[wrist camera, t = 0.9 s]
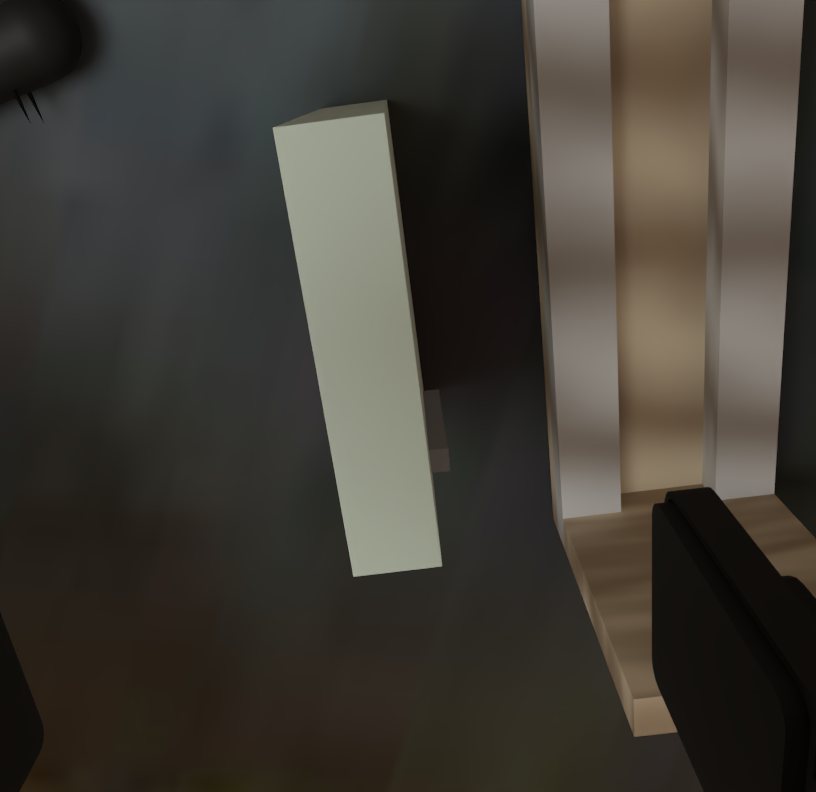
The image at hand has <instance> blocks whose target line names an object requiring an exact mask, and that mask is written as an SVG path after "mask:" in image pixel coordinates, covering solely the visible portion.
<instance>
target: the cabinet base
mask: <svg viewBox="0 0 816 792" xmlns="http://www.w3.org/2000/svg"><path fill="white" fill-rule="evenodd" d="M521 4H522V20H523V36H524V53H525V69H526V85H527V101H528V117H529V133H530V149H531V165H532V181H533V197H534V214H535V230H536V246H537V262H538V278H539V294H540V310H541V326H542V342H543V358H544V375H545V391H546V407H547V423H548V439H549V455H550V471H551V487H552V503H553V519H554V521H555V524H556V527H557V529H558V532H559V535H560V538H561V540H562V543H563V546H564V548H565V551H566V554H567V556H568V559H569V562H570V565H571V567H572V570H573V573H574V575H575V578H576V581H577V583H578V586H579V589H580V592H581V594H582V597H583V600H584V602H585V605H586V608H587V610H588V613H589V616H590V619H591V621H592V624H593V627H594V629H595V632H596V635H597V637H598V640H599V643H600V646H601V648H602V651H603V654H604V656H605V659H606V662H607V664H608V667H609V670H610V673H611V675H612V678H613V681H614V683H615V686H616V689H617V691H618V694H619V697H620V700H621V702H622V705H623V708H624V710H625V713H626V716H627V718H628V721H629V724H630V727H631V729H632V732H633V735H634V737H636V736H646V735H655V734H664V733H673V732H677V729H676V727H675V725H674V723H673V720H672V718H671V716H670V713H669V711H668V709H667V707H666V704H665V702H664V700H663V697H662V695H661V693H660V691H659V688H658V686H657V683H656V680H655V676H654V672H653V666H652V508H653V505H654V504H655V503H663V502H664V500H665V496H666V493H667V492H668V491H676V490H685V489H694V488H703V487H711V488H712V489H713V490H714V491H715V492H716V494H717V495H718V496H719V497H720V499H721V500H722V501H723V502H724V504H725V505H726V506H727V508H728V509H729V510H730V511H731V513H732V514H733V515H734V516H735V518H736V519H737V520H738V521H739V523H740V524H741V525H742V527H743V528H744V529H745V530H746V532H747V533H748V534H749V535H750V537H751V538H752V539H753V541H754V542H755V543H756V544H757V546H758V547H759V548H760V549H761V551H762V552H763V553H764V554H765V556H766V557H767V558H768V560H769V561H770V562H771V563H772V565H773V566H774V567H775V568H776V570H777V571H778V572H779V573H780V575H781V576H788V575H790V576H793V577H796V578H798V579H799V580H800V581H801V582H802V583H803V584H804V585H805V586H806V587H807V589H808V590H809V591H810V592H811V594H812V595H813V596H814V597H815V598H816V538H815V537H814V536H813V535H812V534H811V533H810V532H809V531H808V530H807V529H806V528H805V527H804V525H803V524H802V523H801V522H800V521H799V520H798V519H797V518H796V517H795V516H794V515H793V514H792V513H791V511H790V510H789V509H788V508H787V507H786V506H785V505H784V504H783V503H782V502H781V501H780V500H779V499H778V497H777V496H776V495H775V494H774V489H775V472H776V456H777V439H778V423H779V406H780V390H781V373H782V357H783V340H784V324H785V307H786V291H787V274H788V258H789V241H790V225H791V208H792V192H793V175H794V159H795V143H796V126H797V110H798V93H799V77H800V60H801V44H802V27H803V11H804V0H521Z"/></svg>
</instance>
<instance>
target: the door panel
mask: <svg viewBox="0 0 816 792" xmlns="http://www.w3.org/2000/svg"><path fill="white" fill-rule="evenodd" d="M273 132H274V138H275V143H276V149H277V154H278V160H279V165H280V171H281V177H282V182H283V188H284V193H285V199H286V204H287V210H288V215H289V221H290V227H291V232H292V238H293V243H294V249H295V254H296V260H297V265H298V271H299V277H300V282H301V288H302V293H303V299H304V304H305V310H306V315H307V321H308V327H309V332H310V338H311V343H312V349H313V354H314V360H315V365H316V371H317V377H318V382H319V388H320V393H321V399H322V404H323V410H324V415H325V421H326V427H327V432H328V438H329V443H330V449H331V454H332V460H333V466H334V471H335V477H336V482H337V488H338V493H339V499H340V504H341V510H342V516H343V521H344V527H345V532H346V538H347V543H348V549H349V554H350V560H351V566H352V571H353V577H355V576H363V575H372V574H381V573H389V572H398V571H406V570H415V569H423V568H432V567H441V566H442V560H441V551H440V541H439V532H438V522H437V513H436V503H435V494H434V484H433V475H432V473H436V472H445V471H451V470H450V462H449V453H448V445H447V439H446V433H445V426H444V420H443V413H442V407H441V400H440V394H439V389H436V390H428V391H424V390H423V382H422V374H421V366H420V358H419V350H418V342H417V334H416V326H415V318H414V310H413V302H412V295H411V287H410V279H409V271H408V263H407V255H406V247H405V239H404V231H403V223H402V215H401V207H400V199H399V191H398V183H397V175H396V167H395V159H394V151H393V144H392V136H391V128H390V120H389V112H388V104H387V100H381V101H374V102H366V103H359V104H351V105H344V106H336V107H329V108H322V109H319V110H316V111H314V112H311V113H309V114H306V115H304V116H301V117H299V118H296V119H293V120H291V121H288V122H286V123H283V124H281V125H278V126H276V127H273Z"/></svg>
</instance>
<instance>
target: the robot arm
mask: <svg viewBox="0 0 816 792" xmlns="http://www.w3.org/2000/svg"><path fill="white" fill-rule="evenodd" d="M652 666H653V672H654V676H655V680H656V683H657V686H658V688H659V691H660V693H661V695H662V697H663V700H664V702H665V704H666V707H667V709H668V711H669V713H670V716H671V718H672V720H673V723H674V725H675V727H676V729H677V732H678V734H679V736H680V738H681V741H682V743H683V745H684V748H685V750H686V752H687V754H688V757H689V759H690V761H691V763H692V766H693V768H694V770H695V773H696V775H697V777H698V779H699V782H700V784H701V786H702V788H703V791H704V792H816V598H815V597H814V596H813V595H812V594H811V592H810V591H809V590H808V589H807V587H806V586H805V585H804V584H803V583H802V582H801V581H800V580H799V579H798V578H796V577H793V576H790V575H788V576H781V575H780V573H779V572H778V571H777V570H776V568H775V567H774V566H773V565H772V563H771V562H770V561H769V560H768V558H767V557H766V556H765V554H764V553H763V552H762V551H761V549H760V548H759V547H758V546H757V544H756V543H755V542H754V541H753V539H752V538H751V537H750V535H749V534H748V533H747V532H746V530H745V529H744V528H743V527H742V525H741V524H740V523H739V521H738V520H737V519H736V518H735V516H734V515H733V514H732V513H731V511H730V510H729V509H728V508H727V506H726V505H725V504H724V502H723V501H722V500H721V499H720V497H719V496H718V495H717V494H716V492H715V491H714V490H713V489H712V488H711V487H703V488H694V489H685V490H676V491H668V492H667V493H666V496H665V500H664V502H663V503H655V504H654V505H653V508H652ZM43 737H44V729H43V724H42V720H41V718H40V715H39V713H38V710H37V707H36V705H35V702H34V699H33V697H32V694H31V692H30V689H29V686H28V684H27V681H26V679H25V676H24V673H23V671H22V668H21V666H20V663H19V660H18V658H17V655H16V652H15V650H14V647H13V645H12V642H11V639H10V637H9V634H8V632H7V629H6V626H5V624H4V621H3V619H2V616H1V613H0V792H19V791H20V789H21V787H22V785H23V783H24V781H25V780H26V778H27V776H28V774H29V772H30V770H31V768H32V766H33V764H34V762H35V760H36V759H37V757H38V755H39V753H40V750H41V748H42V744H43Z"/></svg>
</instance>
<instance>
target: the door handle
mask: <svg viewBox="0 0 816 792" xmlns="http://www.w3.org/2000/svg"><path fill="white" fill-rule="evenodd" d="M81 48H82V39H81V33H80V29H79V26H78V24H77V21H76V19H75V17H74V16H73V14H72V13H71V11H70V10H69V9H68V8H67V7H66V6H65V5H64V4H63V3H62V2H61V0H0V104H2V103H4V102H6V101H9V100H11V99H13V98H16V100H17V101H18V103H19V105H20V106H21V108H22V110H23V112H24V113H25V115H26V117H27V118H28V116H27V113H26V111H25V109H24V106H23V104H22V101H21V99H20V97H19V96H20V95H23V94H25V93H27V95H28V96H29V98H30V100H31V102H32V103H33V105H34V107H35V108H36V110H37V112H38V114H39V115H40V117H41V114H40V112H39V110H38V107H37V105H36V102H35V100H34V97H33V95H32V92H31V91H32V90H34V89H37V88H39V87H41V86H44V85H46V84H49V83H51V82H53V81H56V80H58V79H60V78H62V77H64V76H66V75H67V74H68V73H69V72H70V71H71V70H72V69H73V68H74V67H75V65H76V64H77V62H78V60H79V57H80V54H81ZM41 119H42V117H41ZM28 120H29V118H28ZM42 121H43V119H42ZM29 122H30V121H29ZM30 124H31V123H30Z"/></svg>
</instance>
